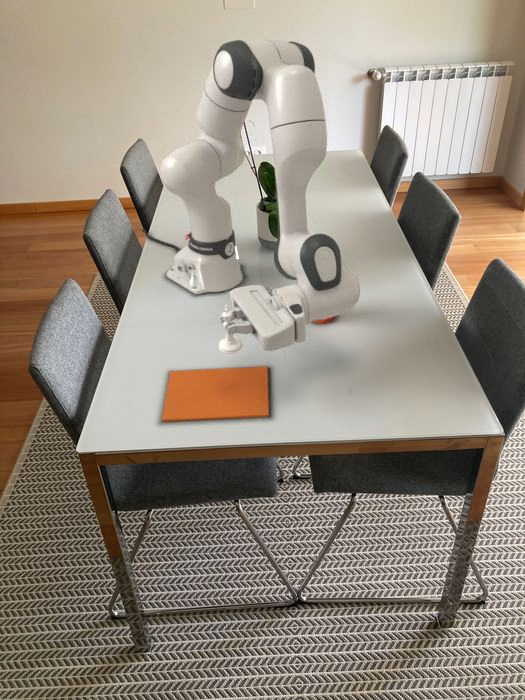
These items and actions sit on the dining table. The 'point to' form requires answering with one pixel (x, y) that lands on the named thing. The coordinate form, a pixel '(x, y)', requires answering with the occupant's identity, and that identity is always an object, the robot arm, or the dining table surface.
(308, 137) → the robot arm
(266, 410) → the cloth mat
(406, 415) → the dining table surface
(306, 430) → the dining table surface
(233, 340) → the chess piece
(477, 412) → the dining table surface
